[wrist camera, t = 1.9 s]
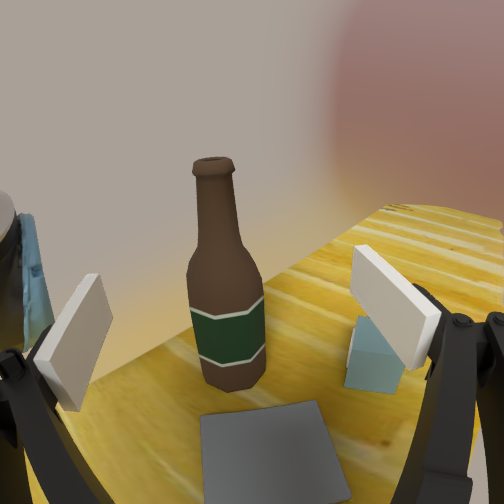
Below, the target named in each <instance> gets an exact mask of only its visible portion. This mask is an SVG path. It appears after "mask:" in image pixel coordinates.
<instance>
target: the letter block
mask: <svg viewBox="0 0 504 504" xmlns="http://www.w3.org/2000/svg"><path fill="white" fill-rule="evenodd" d="M346 367H347V368H348V370H347V374H346V379H345V383H344V387H345V388H351V389H358V390H365V391H372V392H379V393H387V394H394V393H395V391H396V388H397V386H398V383H399V381H400V378H401V375H402V373H403V370H404V367H405V365H404V364H403V362H402V361H401V360H400V358H399V357H398V355H397V354H396V353H395V351H394V350H393V348H392V347H391V346H390V344H389V343H388V342H387V340H386V339H385V338H384V336H383V335H382V334H381V332H380V331H379V330H378V328H377V327H376V325H375V324H374V323H373V321H372V320H371V319H370V318H369V317H363V316H358V319H357V325H356V328H354V327H353V332H352V337H351V342H350V347H349V352H348V358H347V363H346Z"/></svg>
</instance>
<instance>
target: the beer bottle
mask: <svg viewBox="0 0 504 504" xmlns="http://www.w3.org/2000/svg"><path fill="white" fill-rule="evenodd" d="M234 171H235V168H234V165H233V162H232V160H231V159H229V158H227V157H210V158H204V159H199V160H197V161H195V162H194V164H193V170H192V173H193V175H194V176H196V188H197V212H198V247H197V249H196V250H195V252H194V254H193V256H192V258H191V260H190V261H189V265H188V270H187V275H186V277H187V289H188V298H189V307H190V312H191V318H192V323H193V328H194V333H195V338H196V343H197V348H198V353H199V358H200V362H201V367H202V372H203V375H204V378H205V381H206V382H207V383H208V384H210V385H212V386H214V387H216V388H218V389H221V390H223V391H225V392H227V393H228V392H233V391H239V390H244V389H249V388H252V387H253V385H254V384H255V383H256V382H257V380H258V379H259V378H260V377H261V375H262V374H263V373H264V372H265V365H266V351H265V317H264V293H263V285H262V278H261V276H260V273H259V271H258V269H257V267H256V264H255V262H254V260H253V259H252V257H251V255H250V253H249V252H248V251H247V250H246V248H245V247H244V246H243V245H242V241H241V237H240V233H239V227H238V219H237V211H236V204H235V196H234V189H233V180H232V173H233V172H234Z"/></svg>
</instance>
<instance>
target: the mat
mask: <svg viewBox="0 0 504 504" xmlns="http://www.w3.org/2000/svg"><path fill="white" fill-rule="evenodd" d="M200 426H201V449H202V468H203V484H204V498H205V504H335V503H339V502H342V501H346V500H349V499H351V497H352V494H351V492H350V489H349V486H348V484H347V481H346V478H345V476H344V473H343V470H342V467H341V465H340V462H339V459H338V457H337V454H336V451H335V449H334V446H333V443H332V441H331V438H330V436H329V433H328V430H327V428H326V425H325V422H324V420H323V417H322V414H321V412H320V409H319V406H318V404H317V401H316V400H311V401H306V402H301V403H295V404H290V405H284V406H278V407H271V408H265V409H258V410H250V411H242V412H233V413H223V414H212V415H200Z"/></svg>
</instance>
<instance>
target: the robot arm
mask: <svg viewBox="0 0 504 504" xmlns="http://www.w3.org/2000/svg"><path fill="white" fill-rule="evenodd" d="M350 293H351V294H352V295H353V297H354V298H355V299H356V300H357V302H358V303H359V304H360V306H361V307H362V308H363V310H364V311H365V312H366V314H367V315H368V316H369V318H370V319H371V320H372V321H373V323H374V324H375V325H376V327H377V328H378V330H379V331H380V332H381V334H382V335H383V336H384V338H385V339H386V340H387V342H388V343H389V344H390V346H391V347H392V348H393V350H394V351H395V353H396V354H397V355H398V357H399V358H400V360H401V361H402V362H403V364H404V365H405V367H406V368H407V369H408V371H411V370H414V369H417V368H420V367H423V366H424V363H425V360H426V358H427V355H428V357H429V358H430V359H431V360H432V362H431V365H430V367H429V370H428V372H427V375H426V377H425V380H427V384H426V388H425V393H424V398H423V402H422V407H421V411H420V415H419V419H418V423H417V426H416V430H415V434H414V437H413V441H412V444H411V447H410V451H409V454H408V457H407V460H406V463H405V466H404V469H403V472H402V475H401V477H400V480H399V483H398V485H397V488H396V491H395V493H394V496H393V498H392V500H391V503H390V504H469V501H470V497H471V492H472V486H473V482H472V478H469V477H467V470H468V464H469V458H470V451H471V444H472V437H473V428H474V417H475V404H476V401H477V406H478V411H479V417H480V422H481V428H482V434H483V441H484V448H485V456H486V466H487V477H488V490H489V491H488V493H489V504H504V313H501V312H491V313H489V314H488V316H487V319H486V322H481V323H474V321H473V320H472V319H471V318H470V317H468V316H467V315H464V314H461V313H454V314H452V313H450V312H449V311H448V310H447V309H446V308H445V307H444V306H443V305H442V304H441V303H440V302H439V301H438V300H435V298H434V297H433V296H432V295H430V293H429V292H428V291H427V290H426V289H424V288H423V287H421V286H419V285H417V284H415V283H413V284H411V283H410V282H409V281H408V280H406V279H405V278H404V277H403V276H402V275H401V274H400V273H399V272H398V271H396V270H395V269H394V268H393V267H392V266H391V265H390V264H389V263H387V262H386V261H385V260H384V259H383V258H382V257H380V256H379V255H378V254H377V253H376V252H375V251H374V250H372V249H371V248H370V247H369V246H368V245H359V246H354V251H353V263H352V274H351V284H350ZM112 319H113V317H112V313H111V310H110V307H109V304H108V301H107V297H106V294H105V291H104V288H103V284H102V281H101V277H100V274H99V273H93V274H87V275H86V276H85V277H84V279H83V280H82V282H81V283H80V284H79V286H78V287H77V289H76V290H75V292H74V293H73V295H72V296H71V298H70V299H69V301H68V302H67V304H66V306H65V307H64V309H63V310H62V312H61V313H60V315H59V317H58V318H57V320H56V321H54V315H53V311H52V307H51V303H50V299H49V295H48V290H47V286H46V282H45V277H44V273H43V270H42V263H41V258H40V251H39V246H38V239H37V233H36V227H35V221H34V217H33V216H32V215H31V214H22V213H21V214H19V215H18V216H17V215H16V211H15V208H14V204H13V202H12V200H11V198H10V196H9V195H8V194H6V193H5V192H2V191H0V376H1V378H2V380H0V504H33V502H32V497H31V492H30V487H29V482H28V476H27V470H26V463H25V455H24V449H25V451H26V454H27V456H28V459H29V461H30V464H31V466H32V468H33V471H34V473H35V475H36V477H37V480H38V482H39V484H40V486H41V488H42V490H43V492H44V494H45V496H46V498H47V500H48V502H49V504H115V503H114V501H113V500H112V499H111V497H110V496H109V495H108V493H107V492H106V490H105V489H104V488H103V486H102V485H101V483H100V482H99V481H98V479H97V478H96V476H95V475H94V473H93V472H92V470H91V469H90V467H89V466H88V464H87V462H86V461H85V459H84V458H83V456H82V454H81V453H80V451H79V449H78V448H77V446H76V444H75V443H74V441H73V439H72V437H71V436H70V434H69V432H68V430H67V428H66V427H65V425H64V423H63V421H62V419H61V417H60V415H59V413H58V412H57V410H56V409H55V407H56V404H57V401H58V402H59V404H60V405H61V407H62V408H63V410H65V411H76V412H80V409H81V405H82V402H83V399H84V396H85V393H86V390H87V387H88V384H89V381H90V378H91V375H92V372H93V369H94V366H95V363H96V361H97V358H98V356H99V353H100V350H101V347H102V345H103V342H104V339H105V337H106V334H107V332H108V329H109V327H110V324H111V322H112ZM31 347H33V348H32V350H31V351H30V353H29V355H28V356H27V358H26V360H25V359H24V357H23V355H22V353H24V352H27V351H28V349H29V348H31ZM23 446H24V447H23Z"/></svg>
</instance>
